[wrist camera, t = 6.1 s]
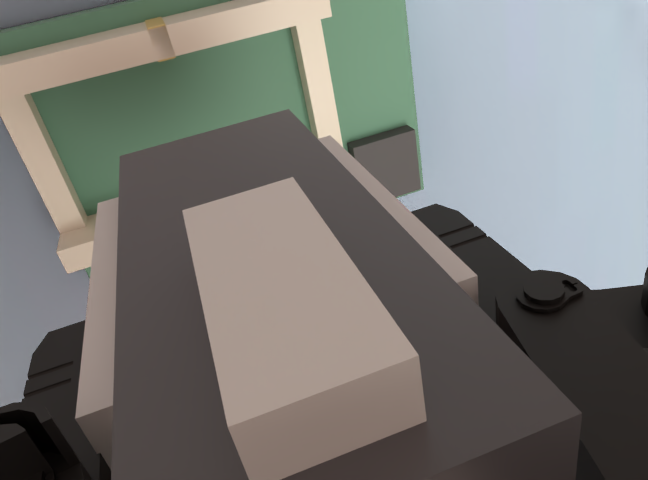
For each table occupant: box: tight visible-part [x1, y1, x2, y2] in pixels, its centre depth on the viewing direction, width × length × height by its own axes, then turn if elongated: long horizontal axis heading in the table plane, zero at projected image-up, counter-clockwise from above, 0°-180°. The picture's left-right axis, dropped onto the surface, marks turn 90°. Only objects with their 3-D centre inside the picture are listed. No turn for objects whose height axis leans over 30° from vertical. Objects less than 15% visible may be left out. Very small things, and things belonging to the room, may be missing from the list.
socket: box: [0, 0, 343, 274], centre depth 21 cm, size 12×8×2 cm, turn 100°
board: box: [0, 0, 424, 278], centre depth 23 cm, size 16×11×2 cm
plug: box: [111, 109, 582, 480], centre depth 9 cm, size 4×5×10 cm
